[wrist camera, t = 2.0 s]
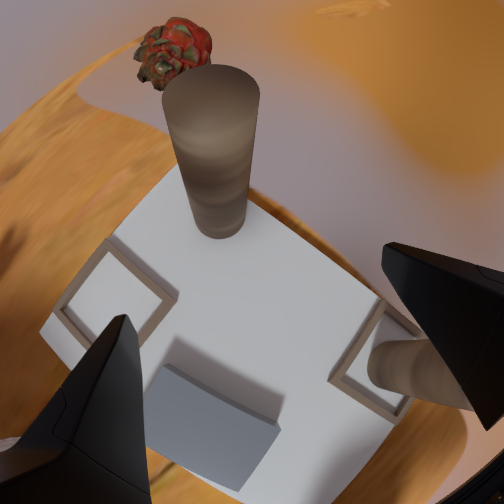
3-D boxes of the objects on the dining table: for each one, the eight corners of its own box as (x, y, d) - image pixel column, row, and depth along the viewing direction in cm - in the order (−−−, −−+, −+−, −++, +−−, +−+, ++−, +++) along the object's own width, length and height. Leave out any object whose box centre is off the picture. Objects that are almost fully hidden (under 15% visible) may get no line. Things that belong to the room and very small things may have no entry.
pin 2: (416, 356, 21) (540, 353, 8) (391, 397, 20) (512, 427, 7) (384, 331, 21) (510, 313, 9) (357, 373, 20) (477, 397, 8)
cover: (277, 421, 19) (281, 429, 17) (237, 480, 18) (238, 492, 16) (168, 363, 20) (162, 365, 18) (133, 424, 18) (124, 431, 16)
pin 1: (255, 211, 23) (279, 89, 11) (223, 249, 22) (214, 145, 10) (216, 183, 24) (207, 55, 11) (183, 219, 23) (142, 102, 10)
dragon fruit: (181, 124, 29) (170, 72, 33) (244, 73, 25) (217, 32, 30) (118, 87, 22) (122, 41, 26) (185, 21, 18) (172, -6, 23)
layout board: (432, 347, 22) (444, 347, 21) (300, 522, 17) (305, 533, 15) (187, 162, 26) (184, 151, 24) (46, 333, 21) (34, 332, 19)
